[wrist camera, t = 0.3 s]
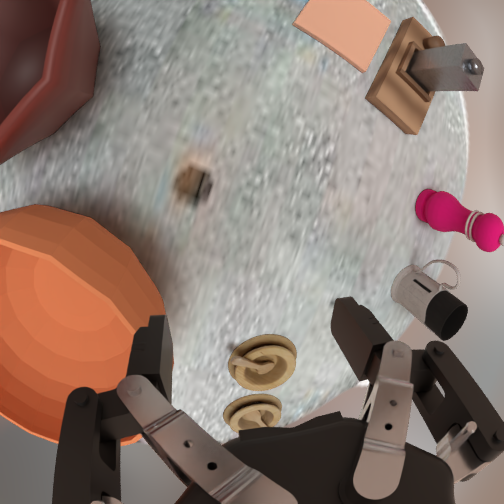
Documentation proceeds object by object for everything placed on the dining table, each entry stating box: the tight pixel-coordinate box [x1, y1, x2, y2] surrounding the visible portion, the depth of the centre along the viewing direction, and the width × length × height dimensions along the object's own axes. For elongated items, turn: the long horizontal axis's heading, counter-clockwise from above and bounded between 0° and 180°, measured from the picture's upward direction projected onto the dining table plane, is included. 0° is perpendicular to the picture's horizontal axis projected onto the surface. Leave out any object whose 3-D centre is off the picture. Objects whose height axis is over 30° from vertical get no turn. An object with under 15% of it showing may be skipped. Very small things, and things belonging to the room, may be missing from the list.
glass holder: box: [391, 260, 468, 341], centre depth 46 cm, size 9×14×15 cm, turn 9°
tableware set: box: [223, 334, 297, 433], centre depth 53 cm, size 30×20×6 cm, turn 175°
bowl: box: [0, 204, 174, 446], centre depth 30 cm, size 30×30×20 cm
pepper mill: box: [416, 189, 504, 252], centre depth 38 cm, size 7×7×20 cm
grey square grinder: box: [405, 43, 484, 92], centre depth 28 cm, size 5×5×13 cm
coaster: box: [292, 0, 391, 73], centre depth 32 cm, size 13×13×1 cm
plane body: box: [365, 17, 445, 135], centre depth 34 cm, size 20×10×6 cm, turn 152°
